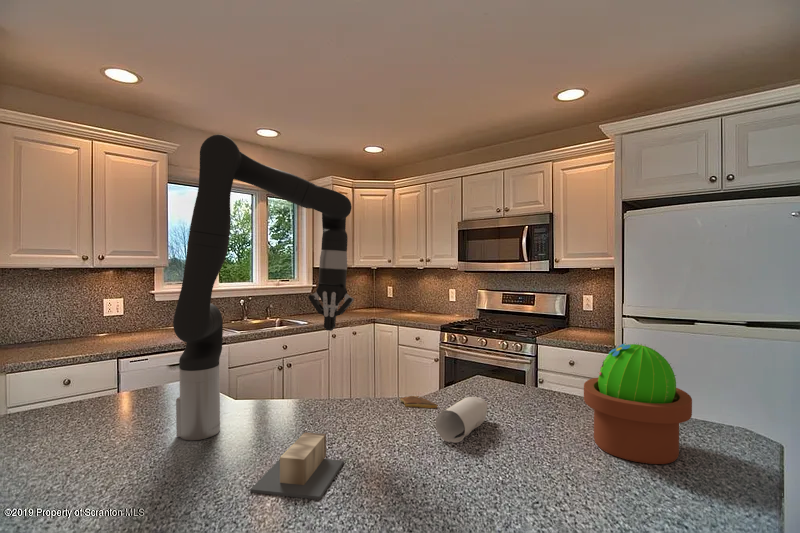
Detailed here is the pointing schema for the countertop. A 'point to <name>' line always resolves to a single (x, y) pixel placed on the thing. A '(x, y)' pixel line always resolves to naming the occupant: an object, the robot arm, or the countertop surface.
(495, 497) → the countertop surface
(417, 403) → the shard
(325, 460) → the mat
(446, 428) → the hollow grey tube
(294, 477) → the maple block
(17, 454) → the countertop surface
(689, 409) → the potted cactus
